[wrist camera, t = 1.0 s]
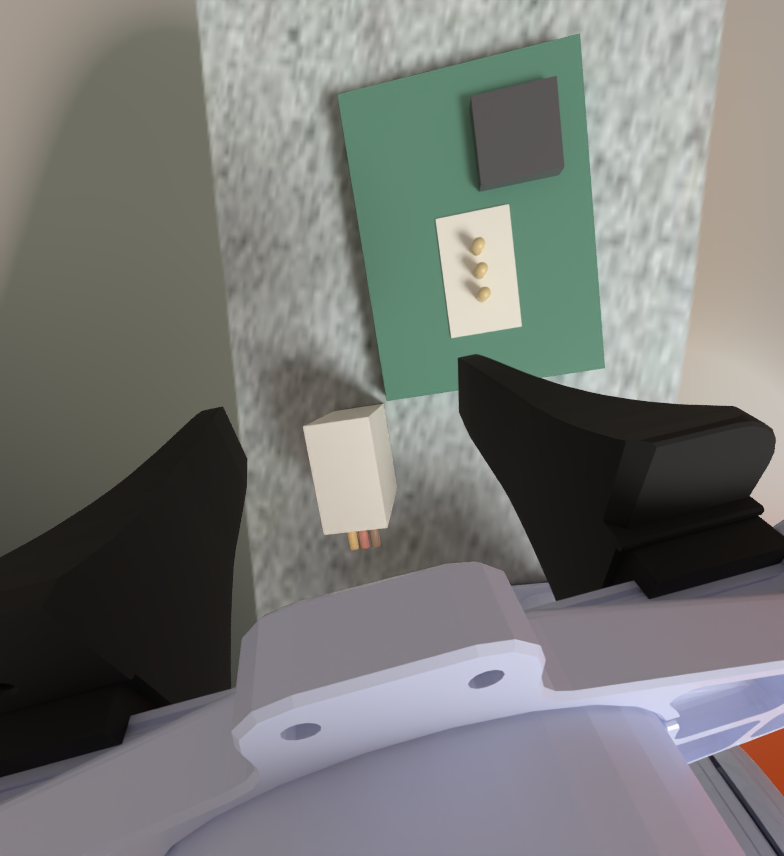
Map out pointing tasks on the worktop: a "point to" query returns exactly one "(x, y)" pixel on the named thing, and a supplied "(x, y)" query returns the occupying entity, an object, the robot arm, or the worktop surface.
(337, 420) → the block
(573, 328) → the circuit board
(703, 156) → the worktop surface
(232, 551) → the robot arm
